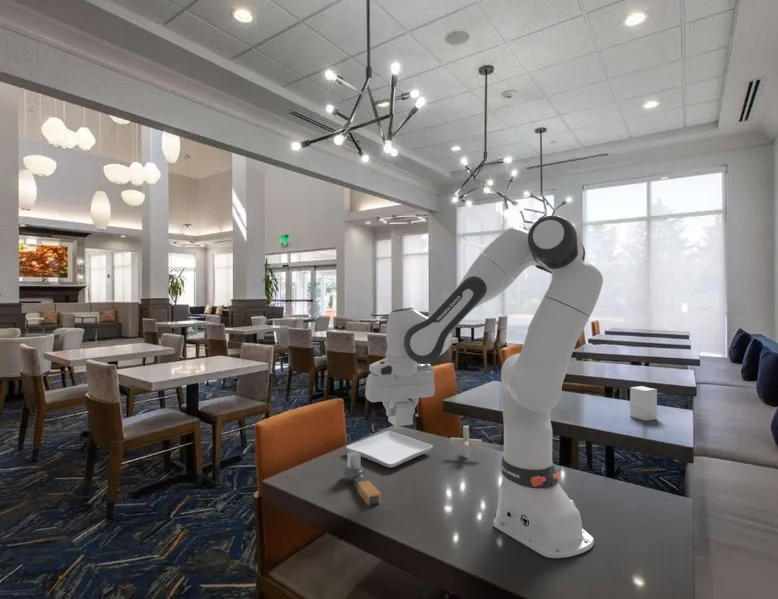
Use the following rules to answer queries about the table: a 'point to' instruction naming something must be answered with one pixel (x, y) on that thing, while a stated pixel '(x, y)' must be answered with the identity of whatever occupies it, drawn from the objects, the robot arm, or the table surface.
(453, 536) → the table surface
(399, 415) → the white speckled cube
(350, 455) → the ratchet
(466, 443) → the pipe connector
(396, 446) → the salad plate
